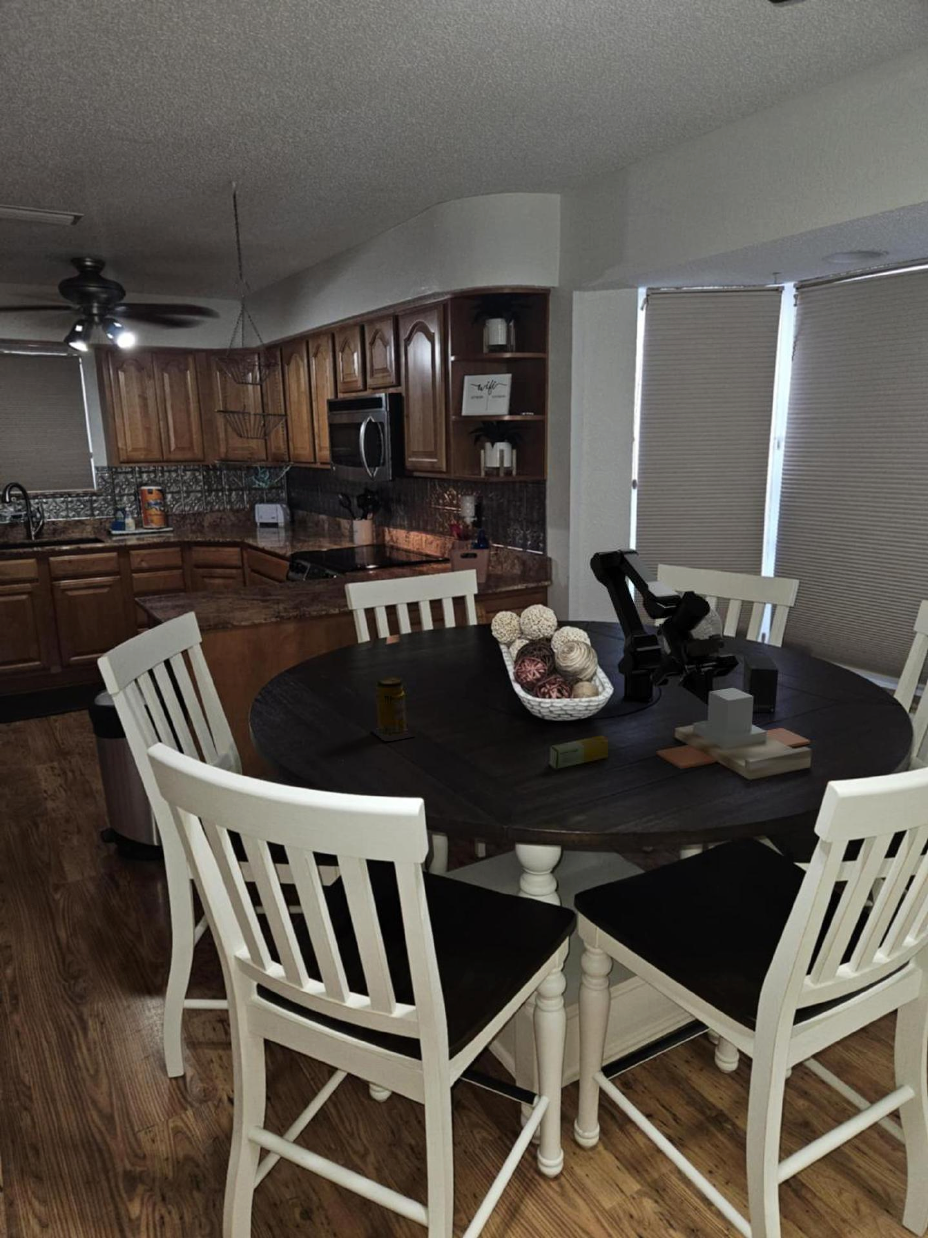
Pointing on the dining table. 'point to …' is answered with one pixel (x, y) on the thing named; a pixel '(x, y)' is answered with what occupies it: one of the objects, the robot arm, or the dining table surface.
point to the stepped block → (730, 720)
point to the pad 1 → (686, 756)
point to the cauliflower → (705, 628)
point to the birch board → (750, 755)
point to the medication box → (578, 752)
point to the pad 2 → (787, 737)
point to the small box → (761, 682)
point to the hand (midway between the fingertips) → (711, 705)
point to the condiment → (391, 706)
